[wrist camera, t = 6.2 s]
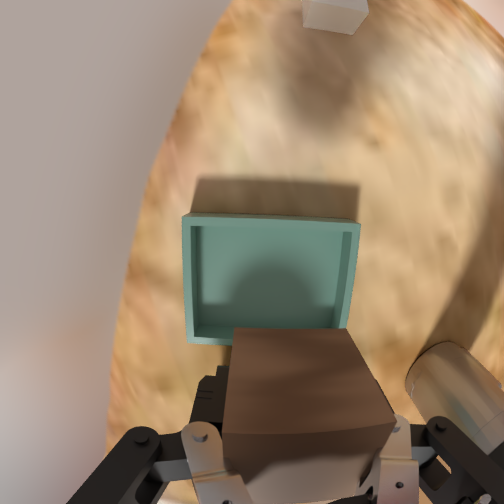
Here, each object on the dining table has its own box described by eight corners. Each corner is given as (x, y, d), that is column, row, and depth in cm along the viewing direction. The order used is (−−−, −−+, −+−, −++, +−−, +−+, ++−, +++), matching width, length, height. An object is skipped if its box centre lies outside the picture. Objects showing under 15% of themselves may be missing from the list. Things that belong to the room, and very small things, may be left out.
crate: (349, 218, 25) (360, 224, 22) (334, 330, 28) (342, 345, 25) (189, 212, 25) (181, 216, 22) (193, 327, 28) (187, 342, 25)
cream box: (348, 1, 20) (362, -23, 15) (352, 35, 21) (369, 13, 16) (301, -7, 20) (308, -34, 15) (302, 27, 21) (311, 1, 16)
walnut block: (345, 328, 12) (397, 421, 6) (327, 406, 13) (352, 496, 8) (234, 327, 12) (221, 432, 6) (233, 407, 13) (226, 503, 8)
